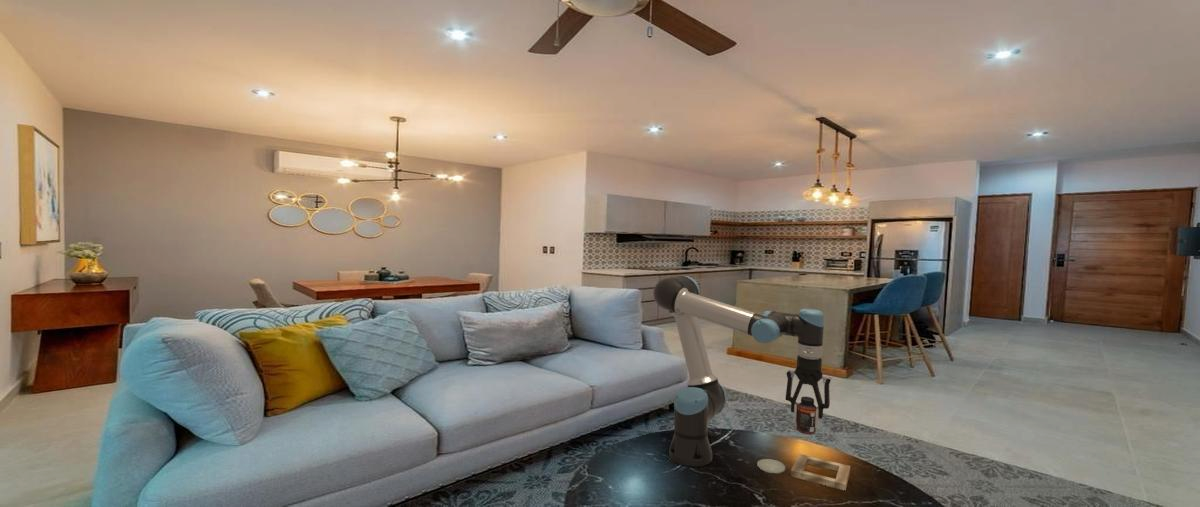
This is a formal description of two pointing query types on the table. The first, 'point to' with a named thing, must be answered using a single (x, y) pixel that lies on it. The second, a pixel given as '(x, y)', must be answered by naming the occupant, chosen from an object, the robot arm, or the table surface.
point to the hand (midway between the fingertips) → (806, 424)
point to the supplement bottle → (806, 416)
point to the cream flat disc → (771, 466)
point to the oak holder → (835, 483)
